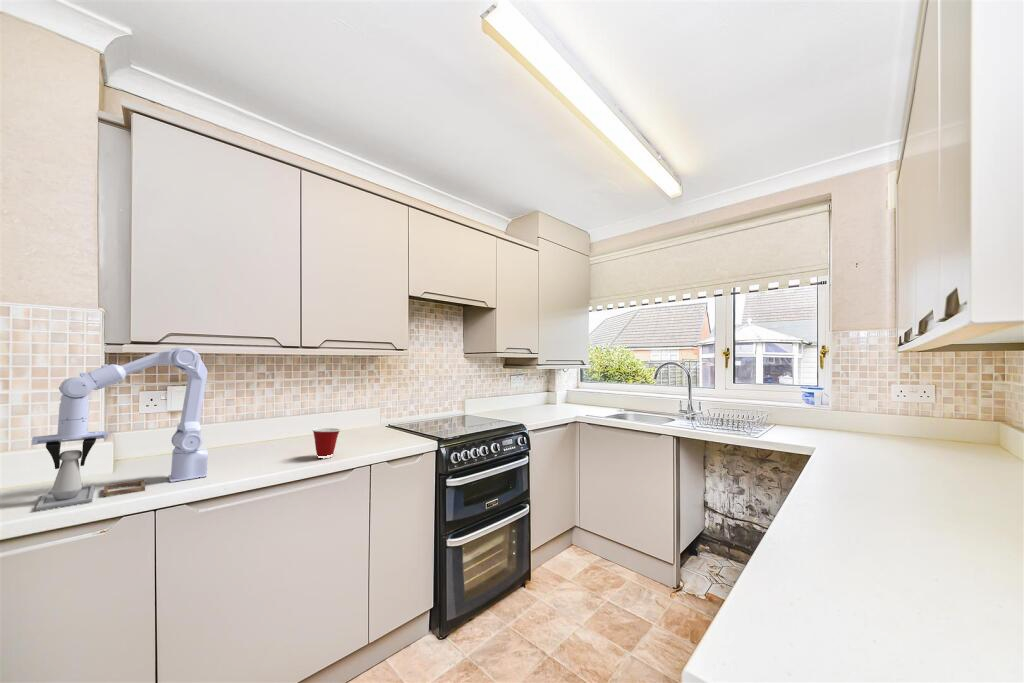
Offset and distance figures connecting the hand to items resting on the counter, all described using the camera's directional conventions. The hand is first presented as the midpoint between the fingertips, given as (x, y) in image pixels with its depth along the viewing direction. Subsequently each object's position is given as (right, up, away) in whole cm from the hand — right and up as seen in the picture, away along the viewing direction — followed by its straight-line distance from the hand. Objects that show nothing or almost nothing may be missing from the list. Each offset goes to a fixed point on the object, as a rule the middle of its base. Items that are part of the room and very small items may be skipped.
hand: (70, 466), depth 111 cm
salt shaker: (0, -9, -1) cm, 9 cm away
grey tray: (0, -9, 0) cm, 9 cm away
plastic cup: (+48, -13, +51) cm, 72 cm away
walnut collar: (+8, -10, +8) cm, 15 cm away
